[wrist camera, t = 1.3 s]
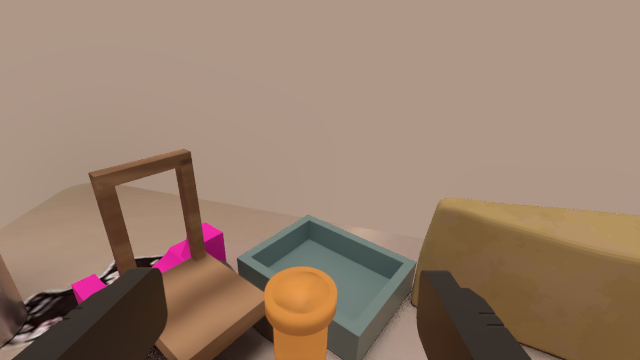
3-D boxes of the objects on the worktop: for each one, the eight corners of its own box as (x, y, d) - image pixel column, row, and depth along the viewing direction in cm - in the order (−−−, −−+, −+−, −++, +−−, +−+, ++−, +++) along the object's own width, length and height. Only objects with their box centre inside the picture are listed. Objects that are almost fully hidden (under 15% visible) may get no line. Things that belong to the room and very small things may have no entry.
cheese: (408, 333, 35) (432, 220, 29) (411, 276, 43) (430, 179, 37) (648, 397, 29) (742, 273, 23) (597, 317, 38) (656, 211, 32)
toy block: (201, 259, 46) (194, 216, 43) (228, 278, 42) (222, 232, 39) (83, 325, 35) (62, 273, 32) (106, 358, 31) (85, 303, 28)
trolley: (114, 351, 32) (51, 178, 24) (218, 284, 41) (198, 142, 33) (182, 446, 25) (125, 243, 17) (289, 339, 34) (287, 174, 26)
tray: (239, 285, 41) (236, 257, 39) (307, 238, 51) (308, 214, 49) (355, 368, 31) (358, 336, 29) (411, 289, 41) (416, 262, 39)
